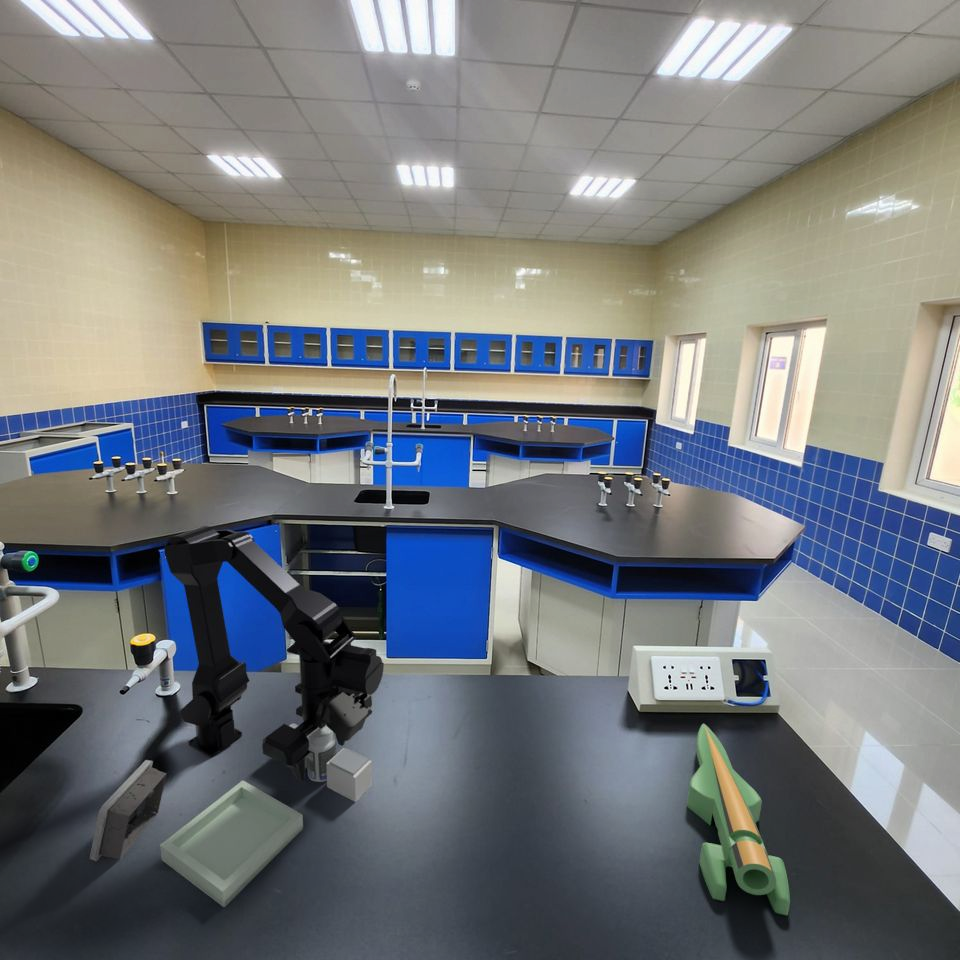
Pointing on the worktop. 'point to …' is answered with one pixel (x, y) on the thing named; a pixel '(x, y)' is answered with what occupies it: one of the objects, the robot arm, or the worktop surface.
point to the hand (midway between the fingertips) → (321, 761)
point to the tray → (231, 841)
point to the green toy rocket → (733, 828)
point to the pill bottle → (320, 753)
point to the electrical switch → (128, 812)
